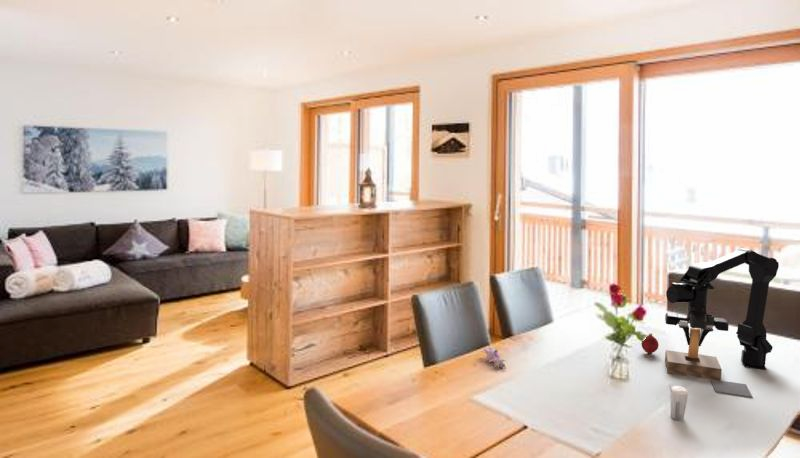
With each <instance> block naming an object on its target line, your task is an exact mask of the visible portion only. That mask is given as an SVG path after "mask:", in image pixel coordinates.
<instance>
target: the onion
mask: <svg viewBox="0 0 800 458" xmlns="http://www.w3.org/2000/svg"><path fill="white" fill-rule="evenodd" d="M645 337H646V336H645ZM640 345H641V348H642V349H643V351H644V352H645V353H647V354H648V355H651V354H654V353H655V352H657V350H658V349H659V345H660V344H659V340H657V338H656V337H655V336H654V335H653V333H651V332H650V333H648V335H647V337H646V339H645V340H644V341H642V340H641V344H640Z"/></svg>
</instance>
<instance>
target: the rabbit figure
mask: <svg viewBox="0 0 800 458" xmlns="http://www.w3.org/2000/svg"><path fill="white" fill-rule="evenodd" d="M483 350H484V353H485V354H486V360H487V361H488V363H493V366H494V368H495V369H497V370H500V369H503V370H507V367H506V365H505V363H504V362H506V359H503V358H501V356H500V354H499V352H498V349H495V348H494V347H492V346H491V347H490V346H489V347H488V348H487V347H483Z"/></svg>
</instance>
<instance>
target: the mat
mask: <svg viewBox="0 0 800 458" xmlns="http://www.w3.org/2000/svg"><path fill="white" fill-rule="evenodd" d="M710 383H711V385H712V386H713V390H714V392H715V393H717V394H726V395H731V396H737V397H744V398H750V399H753V395H752V393H751V390H750V388H748V386H747V384H745V383H740V382H733V381H727V380H726V381H725V380H722V379H721V380H714V379H710Z"/></svg>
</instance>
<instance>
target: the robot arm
mask: <svg viewBox="0 0 800 458" xmlns="http://www.w3.org/2000/svg"><path fill="white" fill-rule="evenodd" d="M779 263H780V262H779V261H778V260H777V259H776V258H774V257H770V256H765V255H763V254H760V253H758V252H755V251H754V250H753V249H749V248H743V247H741V248H738V249H737V250H735V251H732V252H730V253H728V254H726V255H724V256H721V257H718V258H716V259H714V260H712V261H707V262H697V263H694V264H691V265H690V266H688V268H687V270H686V271H685V273H684V275H683V276H682V277H681V279H680V280H679V282H671V285H670V286H669V287H668V288H667V289H666V290H665V291H666V292H665V294H666V295H665V296H666V299H667V301H668V302H669V303H670V304H682V303H683V304H684V303H686V304H687V312H686V316H685V317H684V316H679V314H678V313H674V312H666V313H665V315H664V316H665V317H664V321H665V324H666V325H671V326H677V325H678V327H679V328H681V329H682V330H683V332H684V335H685V336H684V337H685V339H686V343H687V346H689V343H690V339H689V338H690V328H699V329H700V338H699V347H701V346H702V344H703V342H704V340H705V338H706V336H707V335H708V334H709V333H710V332H712V333H713V332H714V328H715V329H716V330H717V331H723V332H725V331H726V332H728V331H729V323H728V321H727V319H726V318H722V317H715V315H714V314H708V313H707V311H708V310H707V308H708V297H709V290H714V289H715V287H714V286H713V285H712V284H711V282H713V281H714V280H716V279H717V278H718V276H719V275H721V274H722V273H725V272H727V271H729V270H731V269H734V268H736V267H738V266H740V265H743V264H745V265H748V272H749V276H750V277H751V280H752V281H751V287H750V293H749V300H748V306H747V313H746V317H745V320H743V322H742V323H741V322H739V323H738V324H737V331H736V332H735V333H736V336H737V337H736V338H737V339H738V341H739V345H740V346H741V347H743V349H742V350H741V354H740V357H741V358H740V361H741V363H742V365H743V366H744V367H745V368H752V369H758V370H759V369H760V370H767V366H766V359H767V355H768V354H769V353H772V351H773V348H774V347H773V345H772V344H771V343H770V342H769V341H768V340H767V330H766V328H765V324H764V317H765V313H766V312H765V311H766V304H767V300H768V299H767V298H768V293H769V287H770V283H771V282H772V280H773V279H774V278H776V276H777V273H778V270H779V266H780V265H779Z"/></svg>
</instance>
